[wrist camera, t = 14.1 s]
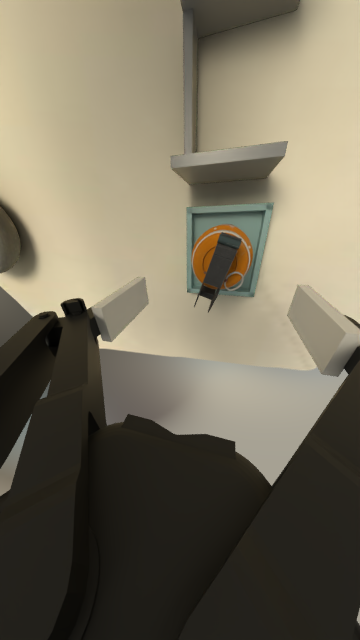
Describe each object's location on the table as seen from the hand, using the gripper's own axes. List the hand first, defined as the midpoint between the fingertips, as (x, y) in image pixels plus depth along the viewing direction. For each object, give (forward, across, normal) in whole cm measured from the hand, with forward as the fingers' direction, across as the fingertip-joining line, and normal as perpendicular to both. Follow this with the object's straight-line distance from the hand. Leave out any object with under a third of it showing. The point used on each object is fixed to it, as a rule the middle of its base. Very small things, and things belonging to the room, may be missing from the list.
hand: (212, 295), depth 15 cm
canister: (+25, 0, 0) cm, 25 cm away
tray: (+26, 0, -1) cm, 26 cm away
